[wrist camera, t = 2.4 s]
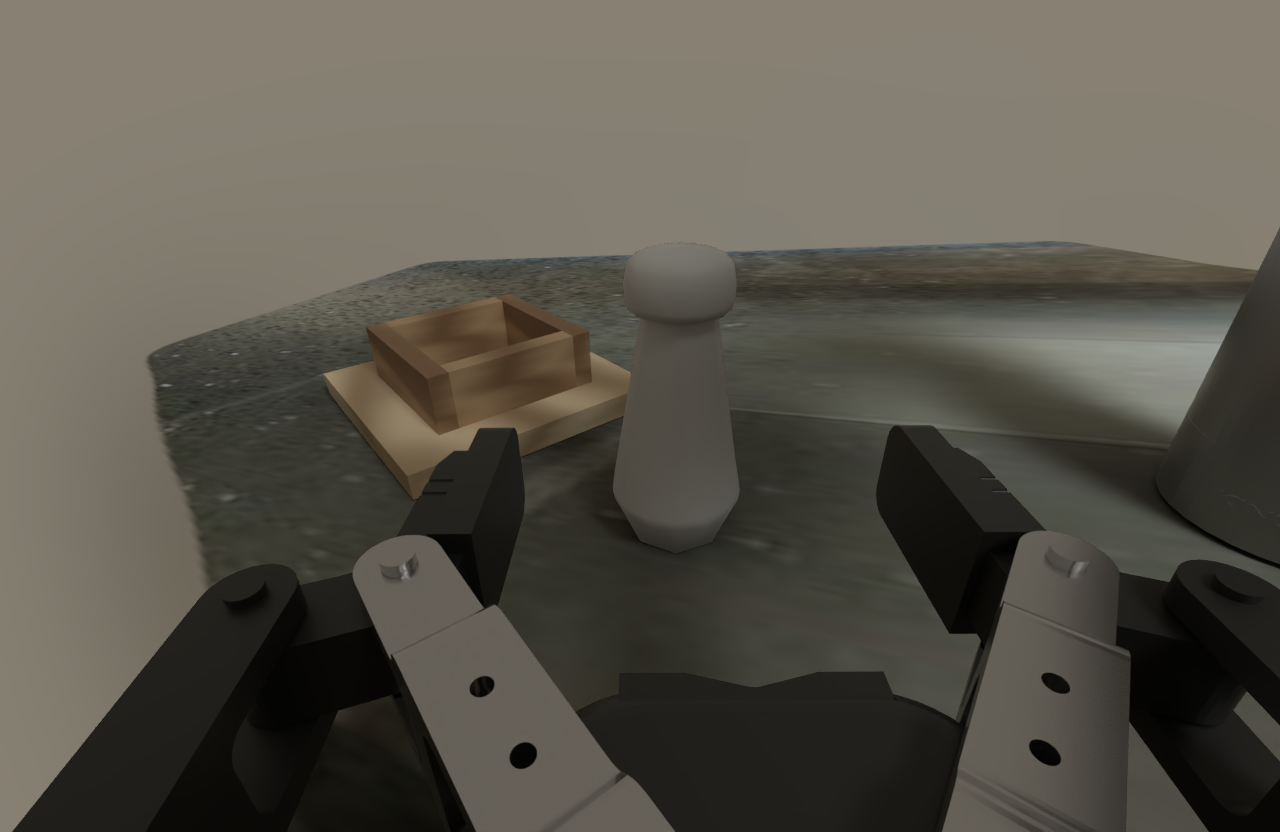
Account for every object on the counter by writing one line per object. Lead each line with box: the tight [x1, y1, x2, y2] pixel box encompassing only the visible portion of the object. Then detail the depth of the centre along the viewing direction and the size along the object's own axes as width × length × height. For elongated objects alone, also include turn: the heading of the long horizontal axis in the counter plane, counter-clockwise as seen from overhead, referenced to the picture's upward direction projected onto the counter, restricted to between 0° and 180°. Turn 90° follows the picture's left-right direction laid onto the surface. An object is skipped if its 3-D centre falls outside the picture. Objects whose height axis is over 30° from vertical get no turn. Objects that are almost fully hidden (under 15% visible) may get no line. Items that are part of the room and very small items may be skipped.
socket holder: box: [324, 294, 631, 500], centre depth 39 cm, size 16×16×5 cm
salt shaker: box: [613, 242, 740, 554], centre depth 25 cm, size 6×6×13 cm
